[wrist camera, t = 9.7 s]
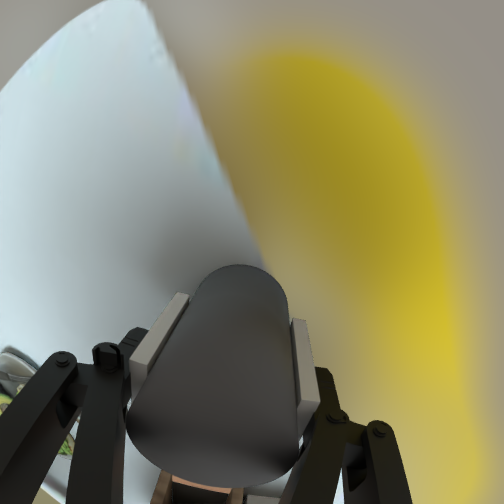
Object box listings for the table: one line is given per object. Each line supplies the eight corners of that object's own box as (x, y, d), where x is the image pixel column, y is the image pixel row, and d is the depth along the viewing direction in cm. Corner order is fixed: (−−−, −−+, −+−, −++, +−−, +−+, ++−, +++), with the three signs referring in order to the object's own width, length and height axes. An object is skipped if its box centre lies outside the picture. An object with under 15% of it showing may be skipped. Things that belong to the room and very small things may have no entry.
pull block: (179, 440, 23) (149, 532, 13) (202, 254, 18) (119, 365, 7) (240, 453, 23) (227, 550, 13) (298, 276, 18) (326, 411, 7)
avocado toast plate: (17, 310, 21) (-12, 331, 17) (136, 438, 24) (122, 469, 20) (-16, 367, 25) (-33, 383, 21) (67, 455, 29) (55, 475, 24)
